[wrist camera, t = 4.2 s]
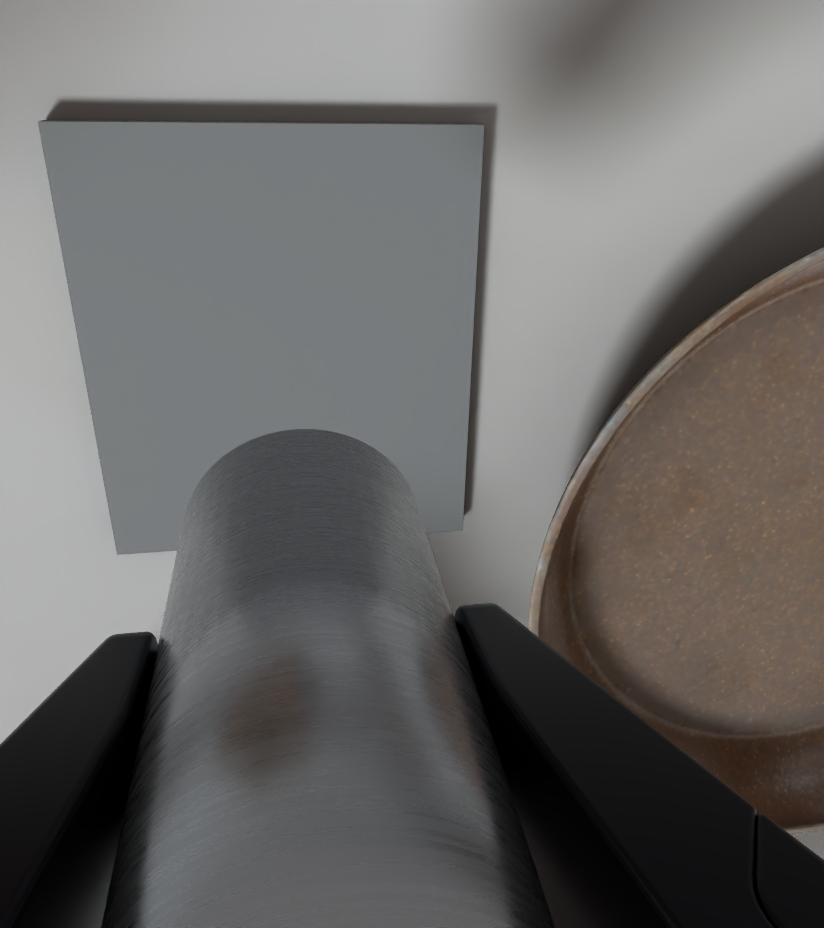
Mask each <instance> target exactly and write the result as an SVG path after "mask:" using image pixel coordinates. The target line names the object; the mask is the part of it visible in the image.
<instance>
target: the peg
mask: <svg viewBox="0 0 824 928" xmlns="http://www.w3.org/2000/svg"><path fill="white" fill-rule="evenodd" d="M101 928H555V926H554V923H553V920H552V916H551V913H550V910H549V907H548V904H547V901H546V898H545V895H544V892H543V889H542V886H541V883H540V880H539V877H538V874H537V870H536V867H535V864H534V861H533V858H532V855H531V852H530V849H529V846H528V843H527V840H526V837H525V834H524V831H523V828H522V825H521V821H520V818H519V815H518V812H517V809H516V806H515V803H514V800H513V797H512V794H511V791H510V788H509V785H508V782H507V779H506V775H505V772H504V769H503V766H502V763H501V760H500V757H499V754H498V751H497V748H496V745H495V742H494V739H493V736H492V733H491V729H490V726H489V723H488V720H487V717H486V714H485V711H484V708H483V705H482V702H481V699H480V696H479V693H478V690H477V687H476V684H475V680H474V677H473V674H472V671H471V668H470V665H469V662H468V659H467V656H466V653H465V650H464V647H463V644H462V641H461V638H460V634H459V631H458V628H457V625H456V622H455V619H454V616H453V613H452V610H451V607H450V604H449V601H448V598H447V595H446V592H445V588H444V585H443V582H442V579H441V576H440V573H439V570H438V567H437V564H436V561H435V558H434V555H433V552H432V549H431V546H430V543H429V539H428V536H427V533H426V530H425V527H424V524H423V521H422V518H421V515H420V512H419V509H418V506H417V503H416V500H415V497H414V495H413V492H412V490H411V488H410V486H409V484H408V482H407V480H406V479H405V477H404V476H403V475H402V473H401V472H400V471H399V469H398V468H397V467H396V466H395V465H394V464H393V463H392V462H391V461H390V460H389V459H388V458H387V457H386V456H384V455H383V454H382V453H380V452H379V451H378V450H376V449H375V448H373V447H371V446H369V445H368V444H366V443H364V442H362V441H360V440H357V439H355V438H352V437H350V436H347V435H344V434H340V433H336V432H332V431H325V430H318V429H293V430H284V431H279V432H274V433H270V434H266V435H263V436H260V437H257V438H255V439H252V440H249V441H248V442H246V443H244V444H242V445H240V446H238V447H236V448H234V449H233V450H231V451H230V452H228V453H227V454H225V455H224V456H223V457H221V458H220V459H219V460H218V461H217V462H216V463H215V464H214V465H212V466H211V467H210V469H209V470H208V471H207V472H206V473H205V474H204V476H203V477H202V478H201V480H200V481H199V483H198V484H197V486H196V487H195V489H194V491H193V493H192V495H191V498H190V500H189V502H188V505H187V509H186V512H185V516H184V521H183V526H182V531H181V536H180V541H179V545H178V550H177V555H176V560H175V565H174V570H173V575H172V580H171V585H170V590H169V595H168V600H167V605H166V610H165V614H164V619H163V624H162V629H161V634H160V639H159V644H158V649H157V654H156V659H155V664H154V669H153V674H152V679H151V683H150V688H149V693H148V698H147V703H146V708H145V713H144V718H143V723H142V728H141V733H140V738H139V743H138V748H137V752H136V757H135V762H134V767H133V772H132V777H131V782H130V787H129V792H128V797H127V802H126V807H125V812H124V817H123V821H122V826H121V831H120V836H119V841H118V846H117V851H116V856H115V861H114V866H113V871H112V876H111V881H110V886H109V890H108V895H107V900H106V905H105V910H104V915H103V920H102V925H101Z"/></svg>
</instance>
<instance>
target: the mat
mask: <svg viewBox="0 0 824 928" xmlns="http://www.w3.org/2000/svg"><path fill="white" fill-rule="evenodd" d="M38 124H39V130H40V135H41V140H42V146H43V151H44V157H45V162H46V168H47V173H48V179H49V184H50V190H51V195H52V201H53V206H54V212H55V217H56V223H57V228H58V233H59V239H60V244H61V250H62V255H63V261H64V266H65V272H66V277H67V283H68V288H69V294H70V299H71V305H72V310H73V316H74V321H75V326H76V332H77V337H78V343H79V348H80V354H81V359H82V365H83V370H84V376H85V381H86V387H87V392H88V398H89V403H90V409H91V414H92V419H93V425H94V430H95V436H96V441H97V447H98V452H99V458H100V463H101V469H102V474H103V480H104V485H105V491H106V496H107V502H108V507H109V512H110V518H111V523H112V529H113V534H114V540H115V545H116V551H117V555H120V554H134V553H148V552H162V551H177V550H178V545H179V541H180V536H181V531H182V526H183V521H184V516H185V512H186V509H187V505H188V502H189V500H190V498H191V495H192V493H193V491H194V489H195V487H196V486H197V484H198V483H199V481H200V480H201V478H202V477H203V476H204V474H205V473H206V472H207V471H208V470H209V469H210V467H211V466H212V465H214V464H215V463H216V462H217V461H218V460H219V459H220V458H221V457H223V456H224V455H225V454H227V453H228V452H230V451H231V450H233V449H234V448H236V447H238V446H240V445H242V444H244V443H246V442H248V441H249V440H252V439H255V438H257V437H260V436H263V435H266V434H270V433H274V432H279V431H284V430H293V429H318V430H325V431H332V432H336V433H340V434H344V435H347V436H350V437H352V438H355V439H357V440H360V441H362V442H364V443H366V444H368V445H369V446H371V447H373V448H375V449H376V450H378V451H379V452H380V453H382V454H383V455H384V456H386V457H387V458H388V459H389V460H390V461H391V462H392V463H393V464H394V465H395V466H396V467H397V468H398V469H399V471H400V472H401V473H402V475H403V476H404V477H405V479H406V480H407V482H408V484H409V486H410V488H411V490H412V492H413V495H414V497H415V500H416V503H417V506H418V509H419V512H420V515H421V518H422V521H423V524H424V527H425V530H426V533H432V532H447V531H461V530H463V515H464V496H465V477H466V459H467V440H468V421H469V402H470V384H471V365H472V346H473V328H474V309H475V290H476V272H477V253H478V234H479V216H480V197H481V178H482V160H483V141H484V125H482V124H458V123H336V122H213V121H91V120H42V121H38Z"/></svg>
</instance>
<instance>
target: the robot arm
mask: <svg viewBox="0 0 824 928" xmlns="http://www.w3.org/2000/svg"><path fill="white" fill-rule="evenodd" d="M455 622H456V625H457V628H458V631H459V634H460V638H461V641H462V644H463V647H464V650H465V653H466V656H467V659H468V662H469V665H470V668H471V671H472V674H473V677H474V680H475V684H476V687H477V690H478V693H479V696H480V699H481V702H482V705H483V708H484V711H485V714H486V717H487V720H488V723H489V726H490V729H491V733H492V736H493V739H494V742H495V745H496V748H497V751H498V754H499V757H500V760H501V763H502V766H503V769H504V772H505V775H506V779H507V782H508V785H509V788H510V791H511V794H512V797H513V800H514V803H515V806H516V809H517V812H518V815H519V818H520V821H521V825H522V828H523V831H524V834H525V837H526V840H527V843H528V846H529V849H530V852H531V855H532V858H533V861H534V864H535V867H536V870H537V874H538V877H539V880H540V883H541V886H542V889H543V892H544V895H545V898H546V901H547V904H548V907H549V910H550V913H551V916H552V920H553V923H554V926H555V928H824V860H823V859H822V858H821V857H819V856H818V855H817V854H815V853H814V852H813V851H811V850H810V849H809V848H807V847H806V846H805V845H803V844H802V843H801V842H799V841H798V840H797V839H796V838H794V837H793V836H792V835H790V834H789V833H788V832H787V831H785V830H784V829H783V828H782V827H780V826H779V825H778V824H776V823H775V822H774V821H773V820H771V819H770V818H769V817H767V816H766V815H765V814H762V813H760V814H758V815H757V816H756V809H755V807H754V806H753V805H752V804H750V803H749V802H748V801H747V800H745V799H744V798H743V797H741V796H740V795H739V794H738V793H736V792H735V791H734V790H733V789H731V788H730V787H729V786H727V785H726V784H725V783H724V782H722V781H721V780H720V779H719V778H717V777H716V776H715V775H713V774H712V773H711V772H710V771H708V770H707V769H706V768H705V767H703V766H702V765H701V764H699V763H698V762H697V761H696V760H694V759H693V758H692V757H691V756H689V755H688V754H687V753H685V752H684V751H683V750H682V749H680V748H679V747H678V746H677V745H675V744H674V743H673V742H671V741H670V740H669V739H668V738H666V737H665V736H664V735H662V734H661V733H660V732H659V731H657V730H656V729H655V728H654V727H652V726H651V725H650V724H648V723H647V722H646V721H645V720H643V719H642V718H641V717H640V716H638V715H637V714H636V713H634V712H633V711H632V710H631V709H629V708H628V707H627V706H626V705H624V704H623V703H622V702H620V701H619V700H618V699H617V698H615V697H614V696H613V695H612V694H610V693H609V692H608V691H606V690H605V689H604V688H603V687H601V686H600V685H599V684H598V683H596V682H595V681H594V680H592V679H591V678H590V677H589V676H587V675H586V674H585V673H583V672H582V671H581V670H580V669H578V668H577V667H576V666H575V665H573V664H572V663H571V662H569V661H568V660H567V659H566V658H564V657H563V656H562V655H561V654H559V653H558V652H557V651H555V650H554V649H553V648H552V647H550V646H549V645H548V644H547V643H545V642H544V641H543V640H541V639H540V638H539V637H538V636H536V635H535V634H534V633H533V632H531V631H530V630H529V629H527V628H526V627H525V626H524V625H522V624H521V623H520V622H519V621H517V620H516V619H515V618H513V617H512V616H511V615H510V614H508V613H507V612H506V611H504V610H503V609H502V608H501V607H499V606H498V605H496V604H493V603H487V604H475V605H463V606H460V607H459V608H458V609H457V611H456V613H455ZM157 649H158V644H157V640H156V637H155V636H154V635H153V634H152V633H150V632H137V633H125V634H116V635H112V636H110V637H109V638H107V639H106V640H105V641H104V642H103V643H102V644H101V645H100V646H99V647H98V648H97V649H96V650H95V651H94V652H93V653H92V654H91V655H90V656H89V657H88V658H87V659H86V660H85V661H84V662H83V663H82V664H81V665H80V666H79V667H78V668H77V669H76V670H75V671H74V672H73V673H72V674H71V675H70V676H69V677H68V678H67V679H66V680H65V681H64V682H63V683H62V684H61V685H60V686H59V687H58V688H57V689H56V690H55V691H54V692H53V693H52V694H51V695H50V696H49V697H48V698H46V699H45V700H44V701H43V702H42V703H41V704H40V705H39V706H38V707H37V708H36V709H35V710H34V711H33V712H32V713H31V714H30V715H29V716H28V717H27V718H26V719H25V720H24V721H23V722H22V723H21V724H20V725H19V726H18V727H17V728H16V729H15V730H14V731H13V732H12V733H11V734H10V735H9V736H8V737H7V738H6V739H5V740H4V741H3V742H2V743H1V744H0V928H101V925H102V920H103V915H104V910H105V905H106V900H107V895H108V890H109V886H110V881H111V876H112V871H113V866H114V861H115V856H116V851H117V846H118V841H119V836H120V831H121V826H122V821H123V817H124V812H125V807H126V802H127V797H128V792H129V787H130V782H131V777H132V772H133V767H134V762H135V757H136V752H137V748H138V743H139V738H140V733H141V728H142V723H143V718H144V713H145V708H146V703H147V698H148V693H149V688H150V683H151V679H152V674H153V669H154V664H155V659H156V654H157Z"/></svg>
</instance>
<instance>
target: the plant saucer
mask: <svg viewBox="0 0 824 928" xmlns="http://www.w3.org/2000/svg"><path fill="white" fill-rule="evenodd" d="M529 630H530V631H531V632H533V633H534V634H535V635H536V636H538V637H539V638H540V639H541V640H543V641H544V642H545V643H547V644H548V645H549V646H550V647H552V648H553V649H554V650H555V651H557V652H558V653H559V654H561V655H562V656H563V657H564V658H566V659H567V660H568V661H569V662H571V663H572V664H573V665H575V666H576V667H577V668H578V669H580V670H581V671H582V672H583V673H585V674H586V675H587V676H589V677H590V678H591V679H592V680H594V681H595V682H596V683H598V684H599V685H600V686H601V687H603V688H604V689H605V690H606V691H608V692H609V693H610V694H612V695H613V696H614V697H615V698H617V699H618V700H619V701H620V702H622V703H623V704H624V705H626V706H627V707H628V708H629V709H631V710H632V711H633V712H634V713H636V714H637V715H638V716H640V717H641V718H642V719H643V720H645V721H646V722H647V723H648V724H650V725H651V726H652V727H654V728H655V729H656V730H657V731H659V732H660V733H661V734H662V735H664V736H665V737H666V738H668V739H669V740H670V741H671V742H673V743H674V744H675V745H677V746H678V747H679V748H680V749H682V750H683V751H684V752H685V753H687V754H688V755H689V756H691V757H692V758H693V759H694V760H696V761H697V762H698V763H699V764H701V765H702V766H703V767H705V768H706V769H707V770H708V771H710V772H711V773H712V774H713V775H715V776H716V777H717V778H719V779H720V780H721V781H722V782H724V783H725V784H726V785H727V786H729V787H730V788H731V789H733V790H734V791H735V792H736V793H738V794H739V795H740V796H741V797H743V798H744V799H745V800H747V801H748V802H749V803H750V804H752V805H753V806H754V807H755V809H756V816H757V815H758V814H760V813H762V814H765V815H766V816H767V817H769V818H770V819H771V820H773V821H774V822H775V823H776V824H778V825H779V826H780V827H782V828H783V829H784V830H785V831H787V832H788V833H789V834H792V833H802V832H808V831H818V830H823V829H824V247H822V248H820V249H818V250H816V251H815V252H813V253H811V254H809V255H807V256H805V257H803V258H801V259H799V260H798V261H796V262H794V263H792V264H790V265H788V266H786V267H784V268H782V269H781V270H779V271H777V272H776V273H774V274H772V275H770V276H769V277H767V278H765V279H764V280H762V281H760V282H759V283H757V284H755V285H754V286H752V287H750V288H749V289H747V290H746V291H744V292H743V293H741V294H740V295H738V296H737V297H735V298H734V299H733V300H731V301H730V302H728V303H727V304H725V305H724V306H722V307H721V308H719V309H718V310H717V311H716V312H714V313H713V314H712V315H710V316H709V317H708V318H707V319H705V320H704V321H703V322H702V323H700V324H699V325H698V326H696V327H695V328H694V329H693V330H692V331H690V332H689V333H688V334H687V335H686V336H685V337H684V338H682V339H681V340H680V341H679V342H678V343H677V344H675V345H674V346H673V347H672V348H671V349H670V350H669V351H667V352H666V353H665V354H664V355H663V356H662V357H661V358H660V359H659V360H658V361H657V362H656V363H655V364H654V365H653V366H652V367H651V368H650V369H649V371H648V372H647V373H646V374H645V375H644V376H643V377H642V378H641V379H640V380H639V381H638V382H637V383H636V384H635V386H634V387H633V388H632V389H631V390H630V391H629V392H628V393H627V395H626V396H625V397H624V398H623V400H622V401H621V402H620V403H619V405H618V406H617V407H616V408H615V409H614V411H613V412H612V414H611V415H610V416H609V418H608V419H607V420H606V422H605V423H604V425H603V426H602V428H601V429H600V430H599V432H598V433H597V435H596V436H595V437H594V439H593V441H592V443H591V444H590V446H589V448H588V449H587V451H586V453H585V454H584V456H583V458H582V459H581V461H580V463H579V464H578V466H577V468H576V469H575V471H574V473H573V475H572V477H571V479H570V481H569V483H568V485H567V487H566V489H565V491H564V493H563V495H562V497H561V500H560V502H559V504H558V506H557V509H556V511H555V514H554V516H553V519H552V521H551V524H550V526H549V529H548V532H547V535H546V538H545V541H544V544H543V547H542V550H541V554H540V557H539V560H538V564H537V569H536V573H535V577H534V581H533V587H532V592H531V599H530V608H529Z"/></svg>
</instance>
